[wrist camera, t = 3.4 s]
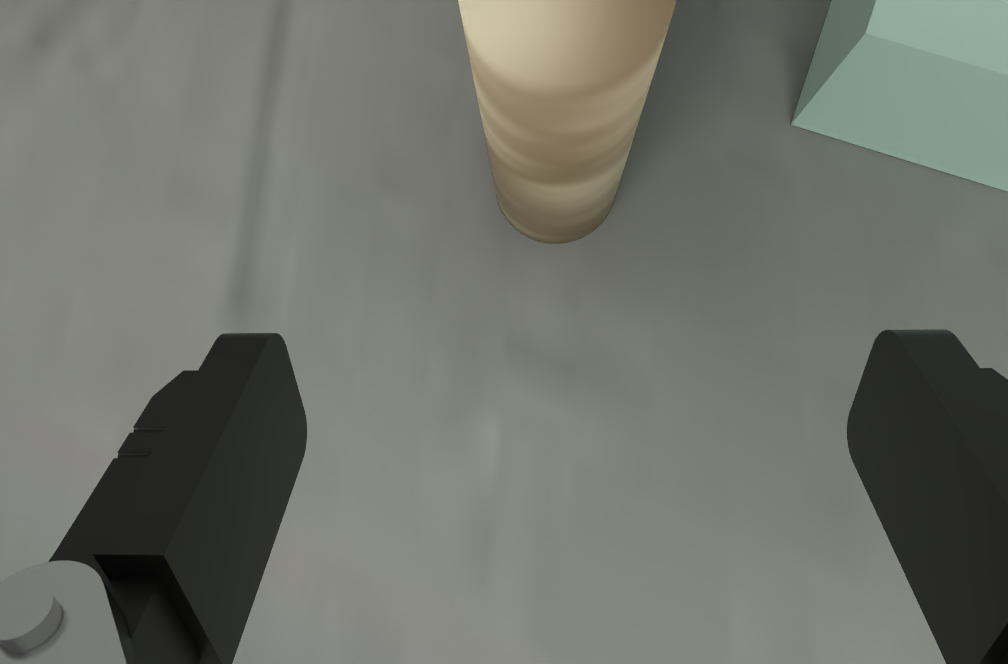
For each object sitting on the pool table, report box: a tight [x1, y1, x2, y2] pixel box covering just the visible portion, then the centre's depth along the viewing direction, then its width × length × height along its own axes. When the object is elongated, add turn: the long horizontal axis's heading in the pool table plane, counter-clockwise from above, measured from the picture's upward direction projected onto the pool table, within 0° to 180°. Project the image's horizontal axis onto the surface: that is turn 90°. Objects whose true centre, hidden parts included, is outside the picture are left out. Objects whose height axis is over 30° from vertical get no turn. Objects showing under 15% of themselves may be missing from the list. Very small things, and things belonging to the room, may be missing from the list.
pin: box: [458, 0, 677, 243], centre depth 17 cm, size 4×4×10 cm
